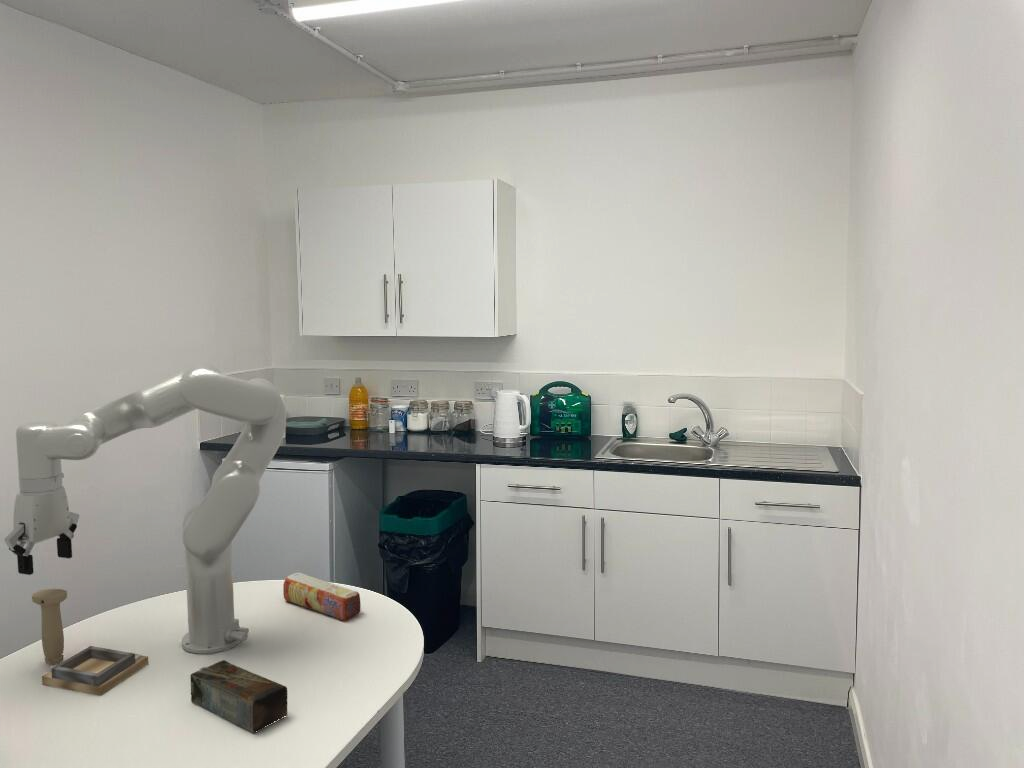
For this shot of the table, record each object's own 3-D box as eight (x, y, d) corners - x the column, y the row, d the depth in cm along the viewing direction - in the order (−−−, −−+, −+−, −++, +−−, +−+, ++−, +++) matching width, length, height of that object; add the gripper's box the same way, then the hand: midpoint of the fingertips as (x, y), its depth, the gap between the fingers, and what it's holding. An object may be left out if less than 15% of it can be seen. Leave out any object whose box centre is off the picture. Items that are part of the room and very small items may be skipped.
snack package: (363, 614, 196) (363, 587, 195) (343, 624, 191) (342, 596, 190) (301, 594, 208) (301, 568, 207) (281, 603, 203) (280, 576, 202)
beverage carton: (225, 686, 163) (224, 654, 162) (290, 717, 152) (289, 683, 151) (189, 703, 156) (188, 670, 155) (255, 737, 146) (253, 702, 145)
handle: (62, 668, 168) (57, 598, 166) (32, 667, 169) (26, 597, 167) (76, 657, 173) (71, 589, 171) (47, 656, 174) (42, 588, 172)
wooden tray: (148, 664, 171) (147, 647, 170) (100, 695, 158) (99, 677, 158) (92, 655, 174) (91, 638, 174) (42, 684, 162) (40, 666, 162)
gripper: (60, 472, 175) (64, 549, 177) (-12, 492, 158) (-6, 578, 161) (89, 475, 173) (93, 553, 175) (19, 496, 156) (25, 582, 159)
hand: (46, 565), depth 168 cm, fingers open, 9 cm apart
